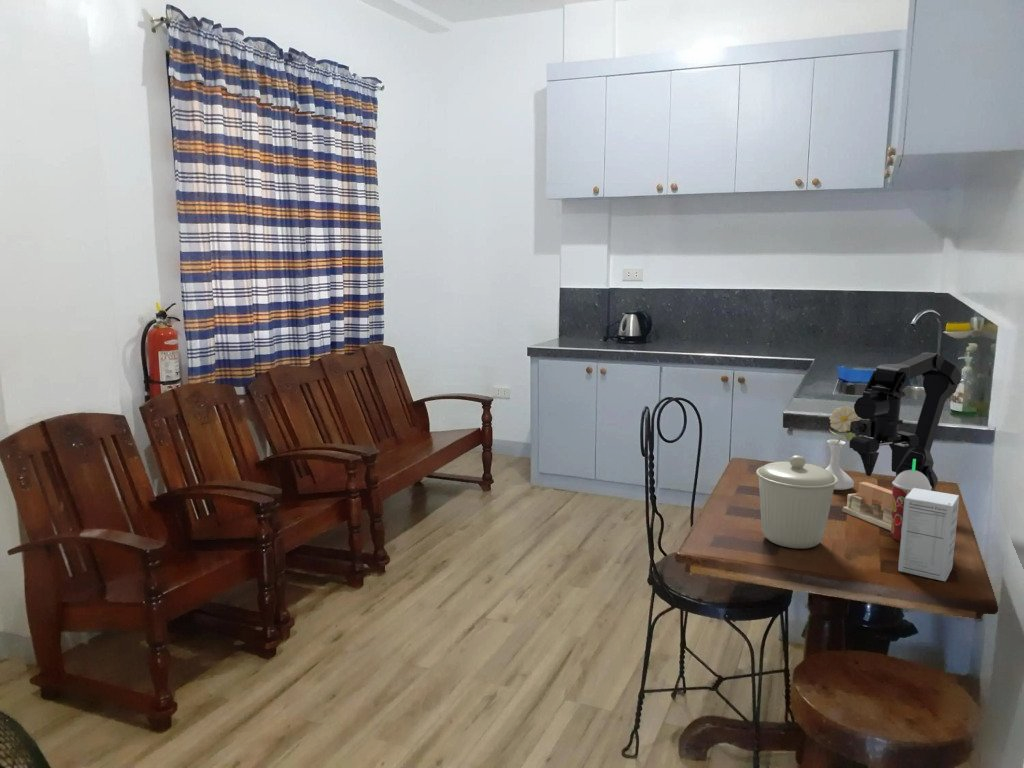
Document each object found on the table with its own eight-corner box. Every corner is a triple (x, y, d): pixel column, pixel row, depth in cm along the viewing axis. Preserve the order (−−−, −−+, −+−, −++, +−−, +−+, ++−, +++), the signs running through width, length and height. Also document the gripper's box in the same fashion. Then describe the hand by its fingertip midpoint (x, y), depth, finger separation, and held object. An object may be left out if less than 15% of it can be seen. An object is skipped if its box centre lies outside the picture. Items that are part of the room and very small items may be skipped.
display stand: (864, 507, 204) (865, 491, 204) (916, 527, 190) (918, 509, 189) (842, 511, 201) (843, 494, 200) (893, 531, 187) (895, 514, 186)
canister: (833, 534, 185) (840, 451, 181) (831, 561, 169) (839, 470, 165) (756, 523, 192) (761, 442, 188) (747, 547, 176) (753, 460, 172)
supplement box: (953, 568, 165) (961, 495, 162) (946, 582, 158) (955, 506, 155) (905, 557, 171) (912, 486, 168) (896, 570, 164) (903, 496, 161)
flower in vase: (803, 483, 225) (809, 401, 221) (832, 479, 229) (839, 399, 225) (837, 497, 213) (844, 410, 209) (867, 492, 217) (875, 407, 213)
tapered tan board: (863, 499, 201) (865, 481, 200) (902, 514, 190) (904, 495, 189) (857, 500, 200) (858, 482, 199) (896, 515, 189) (898, 496, 188)
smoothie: (925, 548, 176) (934, 466, 173) (885, 541, 180) (893, 460, 177) (926, 537, 184) (934, 457, 180) (888, 530, 188) (895, 452, 184)
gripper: (886, 405, 203) (880, 461, 206) (834, 411, 195) (829, 469, 198) (923, 414, 193) (917, 472, 196) (870, 420, 185) (864, 481, 188)
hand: (881, 473), depth 195 cm, fingers open, 9 cm apart
